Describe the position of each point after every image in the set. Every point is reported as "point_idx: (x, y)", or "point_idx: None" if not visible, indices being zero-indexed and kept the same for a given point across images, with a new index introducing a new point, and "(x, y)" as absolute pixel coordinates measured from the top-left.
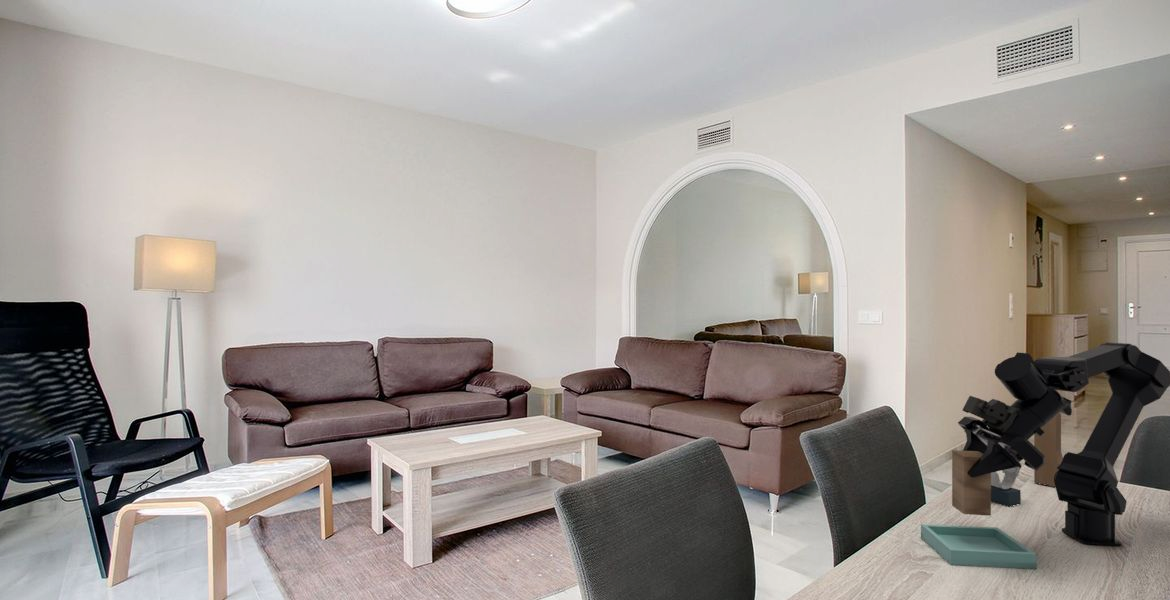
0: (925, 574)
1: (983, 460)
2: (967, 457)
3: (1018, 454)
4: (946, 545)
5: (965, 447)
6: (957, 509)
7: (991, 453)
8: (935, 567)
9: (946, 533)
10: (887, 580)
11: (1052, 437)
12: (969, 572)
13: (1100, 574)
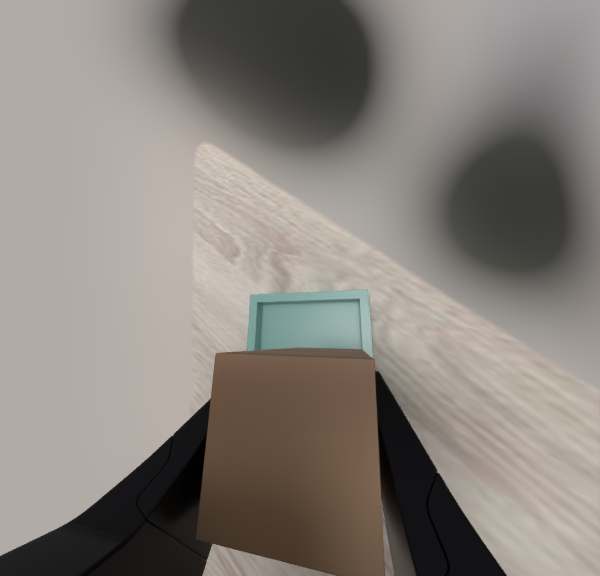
0: (230, 253)
1: (167, 441)
2: (216, 373)
3: None
4: (268, 295)
5: (441, 514)
6: (330, 348)
7: (86, 512)
8: (250, 274)
9: (361, 337)
10: (214, 206)
11: None
12: (238, 315)
13: (239, 551)
